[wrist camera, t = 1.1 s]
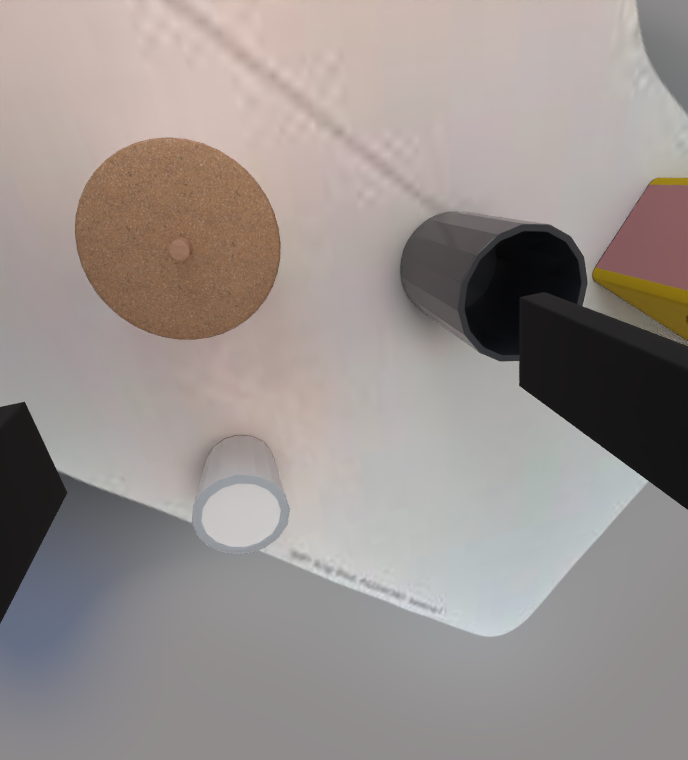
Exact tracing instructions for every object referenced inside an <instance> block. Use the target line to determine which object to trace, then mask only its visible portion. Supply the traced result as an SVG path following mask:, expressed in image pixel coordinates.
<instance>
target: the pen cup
mask: <svg viewBox="0 0 688 760" xmlns="http://www.w3.org/2000/svg"><path fill="white" fill-rule="evenodd" d="M401 280H402V284H403V287H404V290H405V292H406V294H407V296H408V297H409V299H410V300H411V301H412V302H413V303H414V304H415V305H416V306H417V307H418V308H419V309H420V310H421V311H422V312H424V313H425V314H426V315H428V316H429V317H431V318H432V319H433V320H435V321H436V322H438V323H439V324H440V325H442V326H443V327H445V328H446V329H447V330H449V331H450V332H452V333H453V334H454V335H456V336H457V337H459V338H460V339H461V340H463V341H464V342H466V343H467V344H468V345H470V346H471V347H473V348H474V349H475V350H477V351H478V352H480V353H482V354H484V355H486V356H489V357H491V358H493V359H496V360H498V361H519V336H520V297H524V296H528V295H533V294H538V293H543V292H546V293H548V294H551V295H554V296H556V297H559V298H562V299H564V300H567V301H569V302H572V303H575V304H577V305H580V306H582V305H583V301H584V296H585V292H586V287H587V275H586V268H585V261H584V256H583V255H582V253H581V252H580V250H579V249H578V247H577V245H576V244H575V242H574V241H573V239H572V238H571V237H570V236H569V235H567V234H566V233H564V232H562V231H560V230H559V229H557V228H555V227H553V226H551V225H549V224H543V223H536V222H529V221H523V220H516V219H509V218H502V217H496V216H489V215H482V214H476V213H469V212H446V213H442V214H439V215H436V216H434V217H432V218H430V219H428V220H427V221H425V222H424V223H423V224H422V225H421V226H419V227H418V228H417V230H416V231H415V232H414V233H413V234H412V236H411V237H410V239H409V240H408V242H407V244H406V246H405V249H404V251H403V255H402V259H401Z"/></svg>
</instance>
